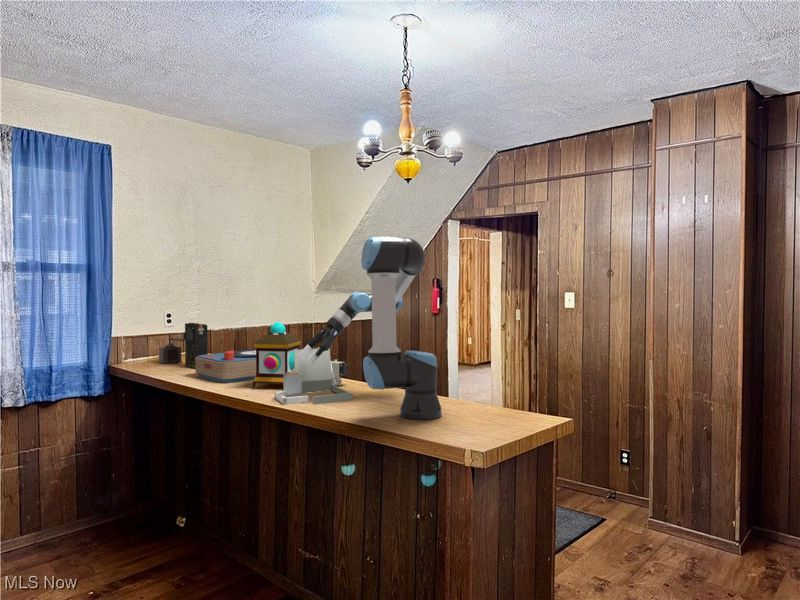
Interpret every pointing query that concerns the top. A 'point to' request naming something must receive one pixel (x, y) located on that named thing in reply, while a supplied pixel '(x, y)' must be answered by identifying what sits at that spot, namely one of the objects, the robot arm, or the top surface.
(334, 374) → the pneumatic valve
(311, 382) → the case
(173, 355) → the dark handled box
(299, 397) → the dock
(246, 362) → the record player
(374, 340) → the robot arm
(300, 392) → the block
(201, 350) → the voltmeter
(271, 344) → the decorative lantern
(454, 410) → the top surface
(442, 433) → the top surface
